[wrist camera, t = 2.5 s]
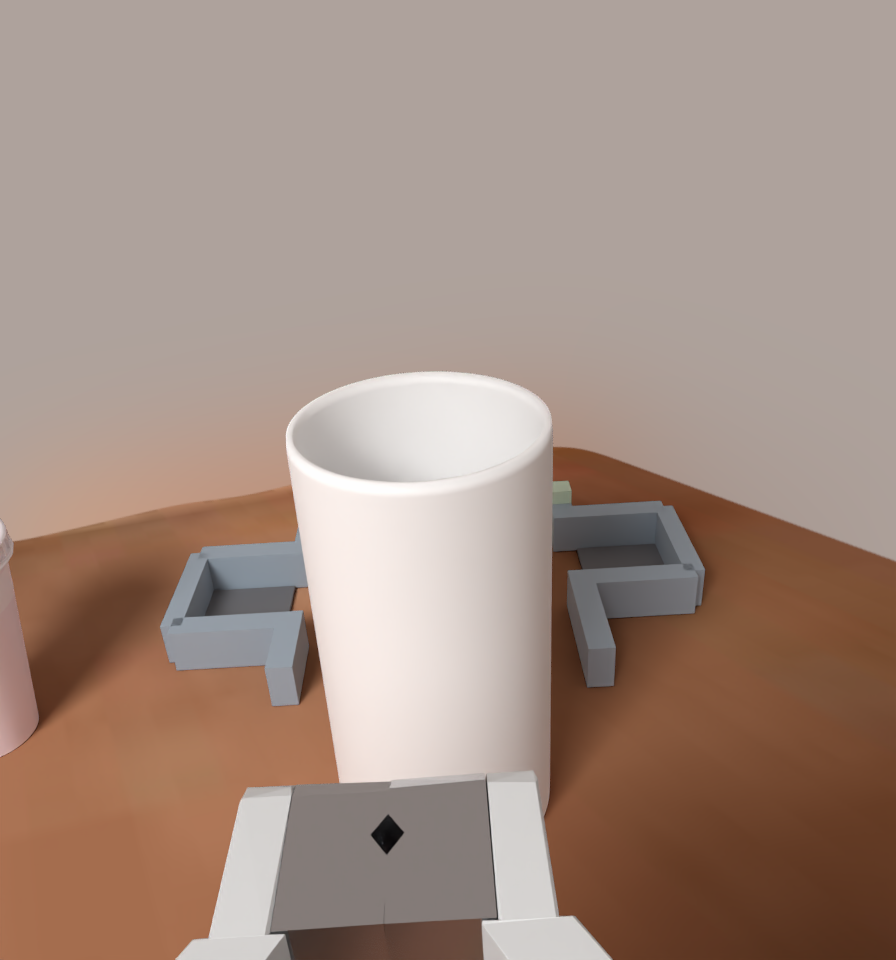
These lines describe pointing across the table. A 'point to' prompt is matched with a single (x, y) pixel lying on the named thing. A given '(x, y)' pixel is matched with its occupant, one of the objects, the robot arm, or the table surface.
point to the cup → (430, 572)
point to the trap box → (280, 569)
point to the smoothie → (13, 662)
